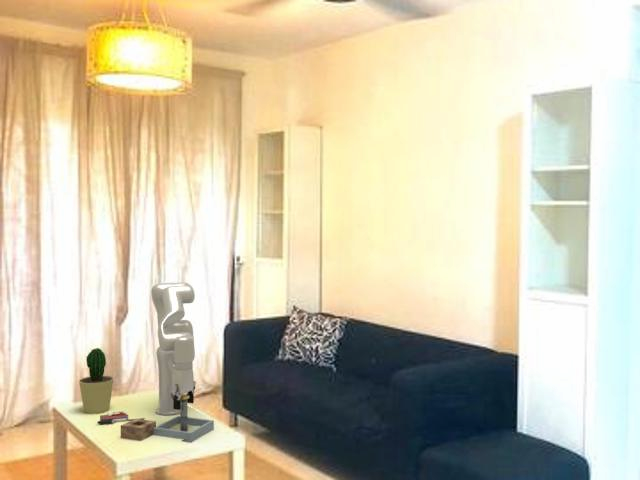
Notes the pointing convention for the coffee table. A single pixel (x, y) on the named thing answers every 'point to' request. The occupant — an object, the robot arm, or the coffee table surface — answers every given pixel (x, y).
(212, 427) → the tray
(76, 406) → the coffee table surface
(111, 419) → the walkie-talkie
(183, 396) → the pin
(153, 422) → the holder block
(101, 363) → the potted cactus
